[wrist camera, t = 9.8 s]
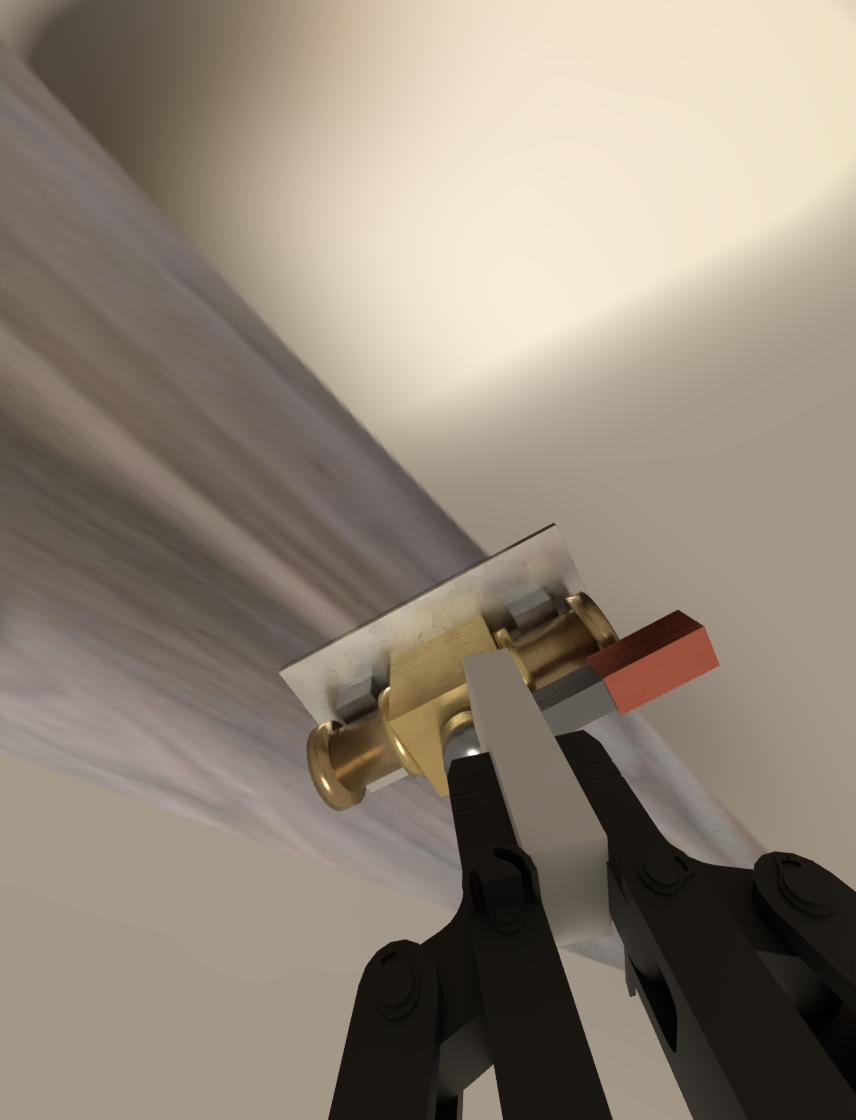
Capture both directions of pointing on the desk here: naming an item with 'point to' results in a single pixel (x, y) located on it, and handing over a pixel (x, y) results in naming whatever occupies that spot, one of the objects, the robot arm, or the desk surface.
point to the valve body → (439, 665)
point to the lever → (607, 681)
